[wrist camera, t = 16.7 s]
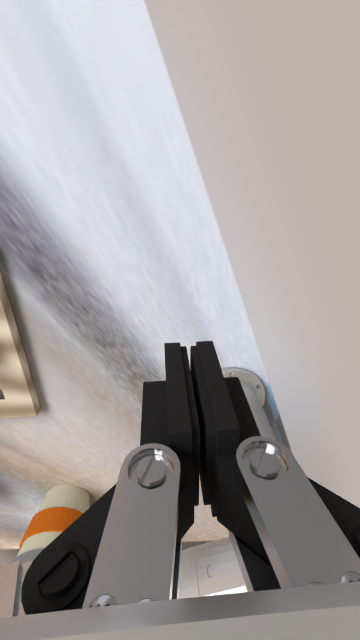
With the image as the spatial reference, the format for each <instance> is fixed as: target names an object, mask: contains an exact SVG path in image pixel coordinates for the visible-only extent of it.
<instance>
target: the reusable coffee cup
mask: <svg viewBox="0 0 360 640" xmlns="http://www.w3.org/2000/svg"><path fill="white" fill-rule="evenodd" d="M89 508H90V496H89V494H88V493H87V492H86V491H85V490H84V489H82V488H80V487H78V486H74V485H59V486H56V487H53V488H52V489H50V490H49V491H48V492H47V494H46V496H45V498H44V500H43V502H42V504H41V506H40V508H39V511H38V513H37V514H35V516H34V517H33V518H32V520H31V522H30V525H29V527H28V529H27V531H26V533H25V535H24V537H23V539H22V541H21V544H20V551H19V553H18V555H17V557H16V558H15V559H14V560H13V562H14V561H17V560H19V561H20V563H21V564H22V563H25V562H28V561H31V560H34V559H35V558H36V557H37V556H38V554H39V553H40V552H41V551H42V550H43V549H44V548H45V547H46V546H48V545H49V544H50V543H51V542H52V541H53V540H54V539H55V538H56V537H58V536H59V535H60V534H61V533H62V532H63V531H64V530H65V529H66V528H68V527H69V526H70V525H71V524H72V523H73V522H74V521H75V520H76V519H78V518H79V517H80V516H81V515H82V514H83V513H84V512H85V511H86V510H88V509H89Z"/></svg>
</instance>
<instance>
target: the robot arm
mask: <svg viewBox="0 0 360 640" xmlns="http://www.w3.org/2000/svg"><path fill="white" fill-rule="evenodd" d="M164 345H165V367H166V381H153V382H144V384H143V402H142V421H141V440H140V446H139V447H137V448H136V449H134V450H132V451H131V452H130V453H129V454H128V455H127V457H126V458H125V460H124V462H123V464H122V467H121V470H120V474H119V477H118V481H117V483H116V484H115V485H114V486H113V487H112V488H111V489H110V490H109V491H108V492H106V493H105V494H104V495H103V496H102V497H101V498H100V499H99V500H98V501H96V502H95V503H94V504H93V505H92V506H91V507H90V508H89V509H88V510H86V511H85V512H84V513H83V514H82V515H81V516H80V517H79V518H78V519H76V520H75V521H74V522H73V523H72V524H71V525H70V526H69V527H68V528H66V529H65V530H64V531H63V532H62V533H61V534H60V535H59V536H58V537H56V538H55V539H54V540H53V541H52V542H51V543H50V544H49V545H48V546H46V547H45V548H44V549H43V550H42V551H41V552H40V553H39V554H38V556H37V557H36V558H35V559H34V560H31V561H28V562H25V563H22V564H21V563H20V561H19V560H17V561H14V562H11V563H8V564H6V565H2V566H0V640H360V508H358V507H356V506H355V505H353V504H351V503H350V502H348V501H346V500H345V499H343V498H341V497H340V496H338V495H336V494H335V493H333V492H331V491H329V490H328V489H326V488H325V487H323V486H321V485H319V484H318V483H316V482H314V481H313V480H311V479H309V478H308V477H307V476H306V475H305V473H304V472H303V470H302V469H301V467H300V466H299V464H298V463H297V461H296V459H295V458H294V456H293V455H292V453H291V452H290V451H289V450H288V448H287V447H286V446H284V445H283V444H282V443H280V442H279V441H277V439H276V437H275V435H274V432H273V430H272V428H271V425H270V423H269V421H268V419H267V416H266V414H265V412H264V409H263V407H262V406H263V405H264V402H265V389H264V386H263V384H262V382H261V381H260V379H259V378H258V377H257V376H256V375H255V374H253V373H252V372H250V371H247V370H244V369H240V368H226V369H221V367H220V364H219V360H218V357H217V354H216V351H215V348H214V345H213V342H212V341H202V342H196V346H191V359H190V366H189V360H188V354H187V348H186V346H184V347H180V343H164ZM199 474H200V481H201V488H202V495H203V502H204V505H210V504H211V510H212V517H216V516H217V521H219V522H220V523H221V524H222V525H223V526H225V527H226V528H227V529H228V531H229V536H230V537H227V538H223V539H220V540H216V541H212V542H209V543H205V544H201V545H199V546H195V547H192V548H189V549H186V550H184V551H181V548H182V537H183V536H184V535H185V533H186V532H187V531H188V530H189V528H190V527H191V526H192V525H193V523H194V506H198V505H199Z"/></svg>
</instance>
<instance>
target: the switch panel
mask: <svg viewBox="0 0 360 640" xmlns="http://www.w3.org/2000/svg"><path fill="white" fill-rule="evenodd" d="M40 408H41V406H40V403H39V400H38V396H37V393H36V390H35V386H34V383H33V380H32V376H31V373H30V369H29V366H28V363H27V359H26V356H25V353H24V349H23V346H22V342H21V339H20V336H19V332H18V329H17V326H16V322H15V319H14V316H13V312H12V309H11V305H10V302H9V299H8V295H7V292H6V289H5V285H4V282H3V279H2V275H1V272H0V419H1V418H17V417H33V416H37V415H38V413H39V410H40Z"/></svg>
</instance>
